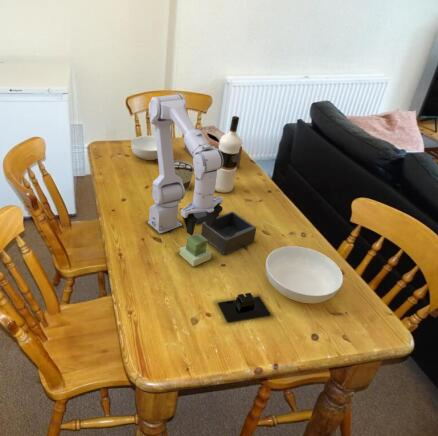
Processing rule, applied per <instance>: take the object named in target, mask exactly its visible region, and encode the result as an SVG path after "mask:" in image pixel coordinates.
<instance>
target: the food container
mask: <svg viewBox="0 0 438 436" xmlns="http://www.w3.org/2000/svg"><path fill="white" fill-rule="evenodd" d="M174 168H175V175H177V176H179V177H180V178H181V179H182V182H183V186H184V189H185V191H189V190H190V186H191V183H192V179H193V178H192V177H193V174H194V165H193V163H191V162H189V161H185V160H181V159H174Z"/></svg>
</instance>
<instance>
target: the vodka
mask: <svg viewBox="0 0 438 436" xmlns="http://www.w3.org/2000/svg"><path fill="white" fill-rule="evenodd" d="M230 121H231V122H230V127H229V131H228V132H227V133H224V134H225V135H223V136H222V137H221V138H220V142H219V150H220V152H221V153H222V156H223V166H222V168H221V169H218V170H217V178H216V185H215V192H218V193H221V194H225V193H230V192H232V191H233V189H234V188H235V176H236V171H237V169H238V168H237V167H236V166H237V162H238V157H239V153H240V148H241V146H242V145H243V140H242V138H241V136H239V135H238V134H237V131H238V126H239V122H240V117H239V116H237V115H233V116H231V120H230Z"/></svg>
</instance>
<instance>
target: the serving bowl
mask: <svg viewBox="0 0 438 436" xmlns="http://www.w3.org/2000/svg"><path fill="white" fill-rule="evenodd" d="M265 274H266V278H267V279H268V281H269V283H270V284H271V286H272V287H273V288H274V289H275V290H276V291H277V292H278V293H279V294H281V295H282V296H283V297H285V298H287V299H289V300H292V301H295V302H298V303H303V304H319V303H323V302H326V301H328V300H330V299H332V298H333V297H334V296H336V294H337V293H338V292H339V291H340V289H341V288H342V286H343V283H344V275H343V272H342V270H341V268H340V266H339V265H338V264H337V263H336V262H335V261H334V260H333V259H332V258H330V257H329V256H327V255H325V254H324V253H322V252H319V251H317V250H315V249H312V248H309V247H304V246H297V245H290V246H289V245H286V246H281V247H278V248H275V249H274V250H272V251H271V252H270V253H269V254H268V255H267V257H266V259H265Z"/></svg>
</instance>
